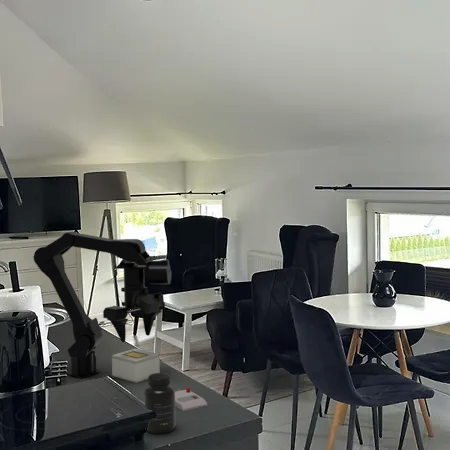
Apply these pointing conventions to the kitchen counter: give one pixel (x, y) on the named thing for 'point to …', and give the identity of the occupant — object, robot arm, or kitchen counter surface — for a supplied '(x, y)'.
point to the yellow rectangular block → (135, 355)
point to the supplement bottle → (160, 403)
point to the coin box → (135, 365)
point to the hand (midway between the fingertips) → (135, 338)
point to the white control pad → (188, 400)
